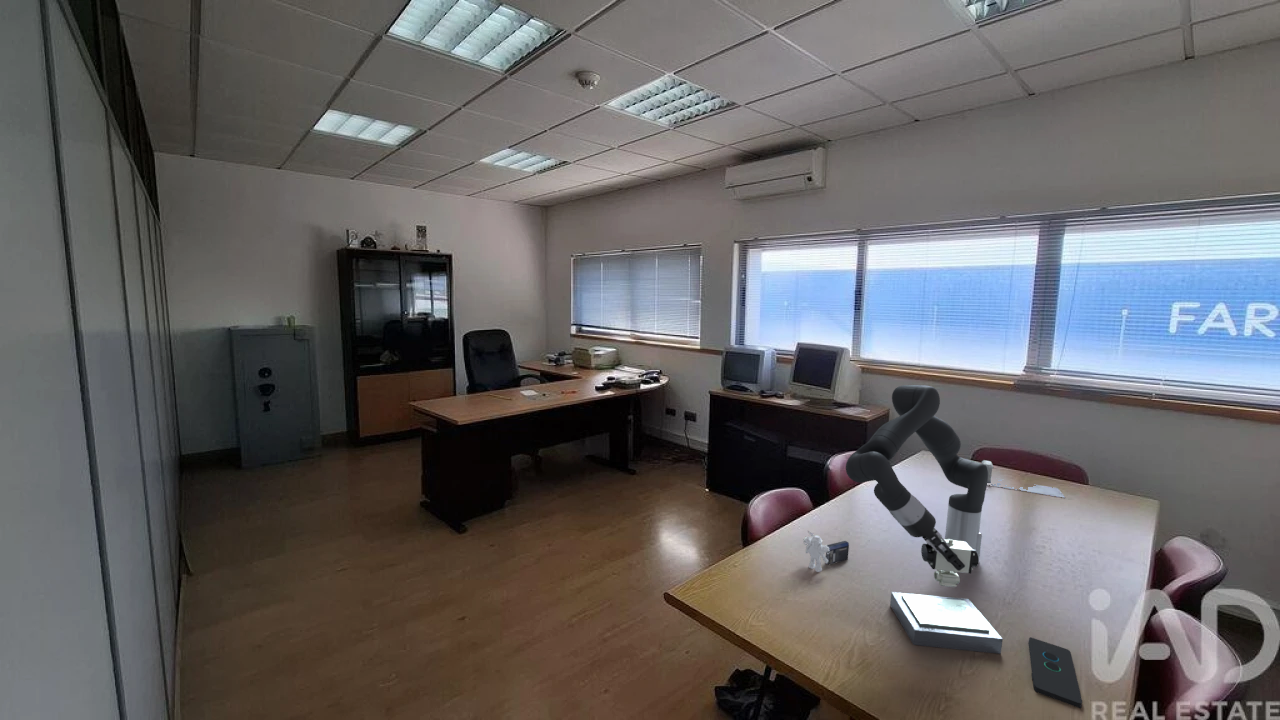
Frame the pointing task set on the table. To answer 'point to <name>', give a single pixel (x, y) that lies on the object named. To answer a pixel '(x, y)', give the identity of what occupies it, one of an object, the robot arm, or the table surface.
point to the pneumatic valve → (947, 570)
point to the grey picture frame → (945, 623)
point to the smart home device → (1054, 672)
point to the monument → (1034, 489)
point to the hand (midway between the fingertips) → (955, 561)
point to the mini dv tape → (837, 552)
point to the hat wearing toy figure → (816, 551)
